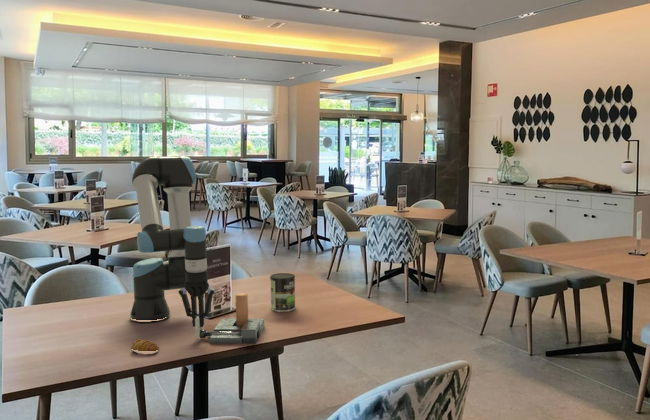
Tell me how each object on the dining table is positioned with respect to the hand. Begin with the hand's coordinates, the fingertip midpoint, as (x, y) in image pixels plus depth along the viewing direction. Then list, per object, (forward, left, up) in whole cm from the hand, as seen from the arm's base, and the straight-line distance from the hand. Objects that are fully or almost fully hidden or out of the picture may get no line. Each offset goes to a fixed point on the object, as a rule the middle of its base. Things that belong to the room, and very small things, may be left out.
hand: (198, 335), depth 201 cm
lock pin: (+9, 0, -1) cm, 9 cm away
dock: (+13, +5, -1) cm, 14 cm away
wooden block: (+14, +8, -1) cm, 16 cm away
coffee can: (+25, +38, -2) cm, 46 cm away
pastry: (-15, -12, -2) cm, 19 cm away
